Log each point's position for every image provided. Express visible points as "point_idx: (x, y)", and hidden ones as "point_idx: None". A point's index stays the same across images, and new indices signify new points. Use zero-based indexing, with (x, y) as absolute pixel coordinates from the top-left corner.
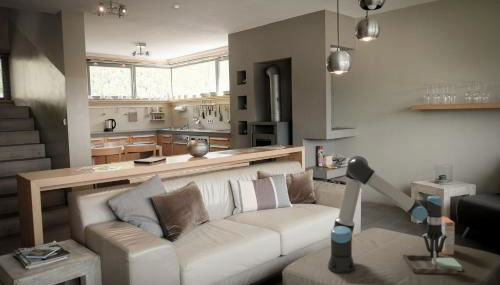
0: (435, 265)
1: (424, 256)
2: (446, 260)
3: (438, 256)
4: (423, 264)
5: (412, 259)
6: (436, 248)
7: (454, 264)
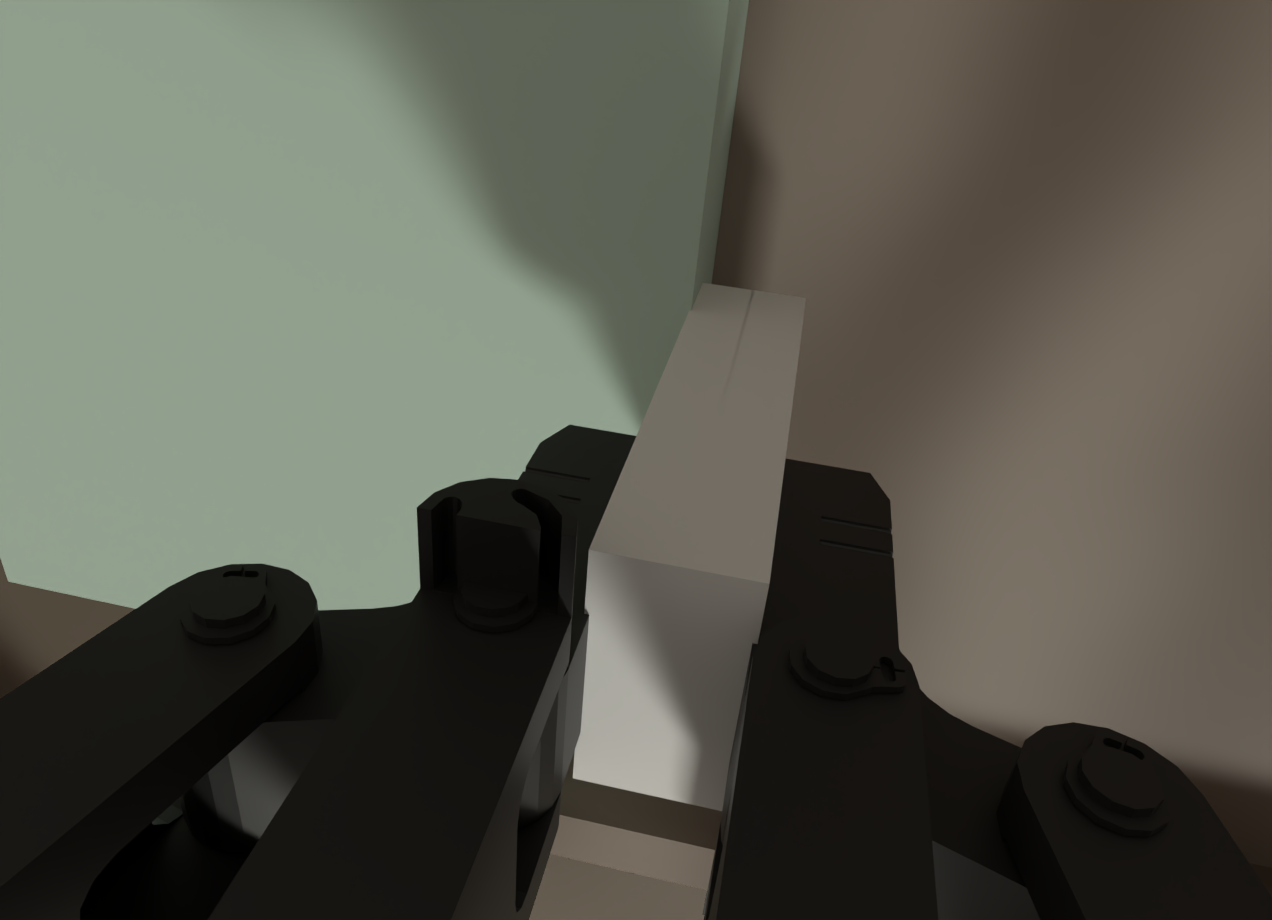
0: None
1: None
2: (241, 446)
3: None
4: (1063, 488)
5: None
6: (453, 855)
7: (23, 36)
